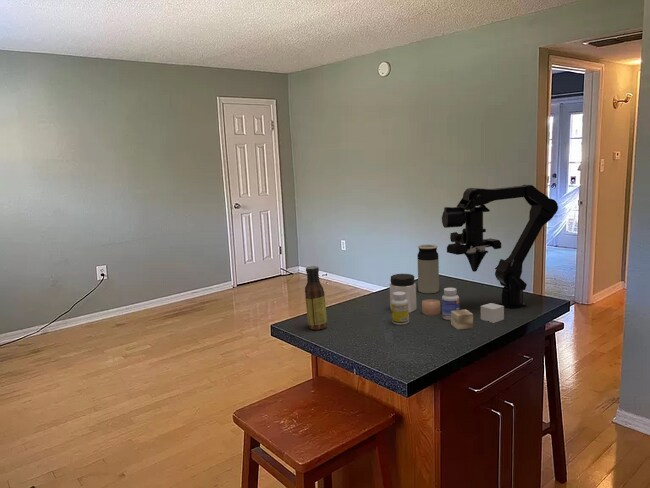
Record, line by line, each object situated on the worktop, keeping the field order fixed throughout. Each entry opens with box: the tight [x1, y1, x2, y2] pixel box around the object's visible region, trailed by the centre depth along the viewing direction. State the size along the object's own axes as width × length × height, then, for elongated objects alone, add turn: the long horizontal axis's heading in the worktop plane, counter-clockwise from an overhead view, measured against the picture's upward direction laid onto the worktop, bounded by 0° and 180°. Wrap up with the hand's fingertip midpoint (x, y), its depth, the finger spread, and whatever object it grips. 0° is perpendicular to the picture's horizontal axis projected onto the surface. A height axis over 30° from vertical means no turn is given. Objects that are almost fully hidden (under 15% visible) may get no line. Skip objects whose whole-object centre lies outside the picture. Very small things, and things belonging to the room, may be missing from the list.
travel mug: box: [417, 244, 440, 295], centre depth 193 cm, size 8×8×18 cm
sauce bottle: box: [304, 265, 328, 331], centre depth 158 cm, size 6×6×20 cm
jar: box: [389, 273, 417, 314], centre depth 172 cm, size 9×8×12 cm
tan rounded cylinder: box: [421, 298, 441, 317], centre depth 168 cm, size 6×6×4 cm
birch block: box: [450, 309, 474, 330], centre depth 153 cm, size 5×5×4 cm
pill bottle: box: [441, 287, 460, 321], centre depth 161 cm, size 5×5×10 cm
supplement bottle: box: [391, 292, 410, 326], centre depth 159 cm, size 5×5×10 cm
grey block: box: [480, 302, 505, 324], centre depth 158 cm, size 5×5×4 cm
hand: (474, 271), depth 168 cm, fingers closed
